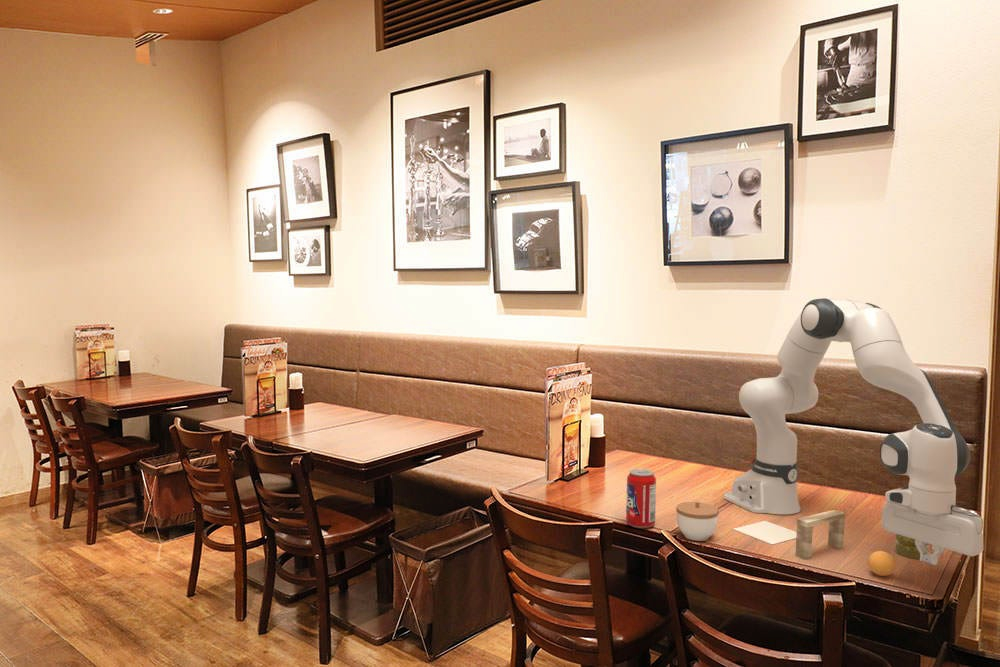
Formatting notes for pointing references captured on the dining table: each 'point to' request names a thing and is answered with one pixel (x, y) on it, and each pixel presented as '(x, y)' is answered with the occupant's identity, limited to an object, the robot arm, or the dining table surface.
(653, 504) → the soda can
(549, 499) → the dining table surface
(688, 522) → the lidded jar
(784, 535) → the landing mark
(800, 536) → the bridge
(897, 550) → the green tiered figurine
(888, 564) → the ball
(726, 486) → the dining table surface
